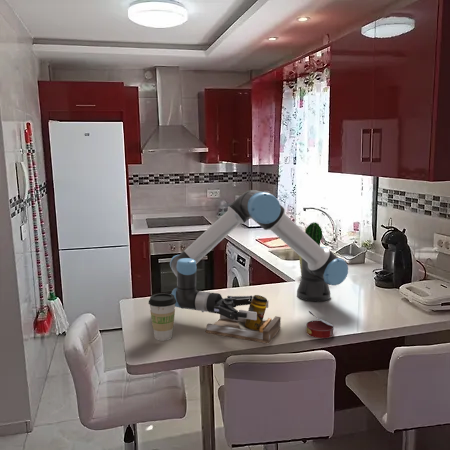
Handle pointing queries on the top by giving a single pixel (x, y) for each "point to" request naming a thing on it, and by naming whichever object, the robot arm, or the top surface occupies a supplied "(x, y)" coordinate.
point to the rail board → (233, 329)
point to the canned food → (319, 328)
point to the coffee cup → (162, 315)
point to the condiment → (259, 307)
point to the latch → (265, 324)
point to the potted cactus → (313, 235)
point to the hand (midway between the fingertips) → (262, 309)
